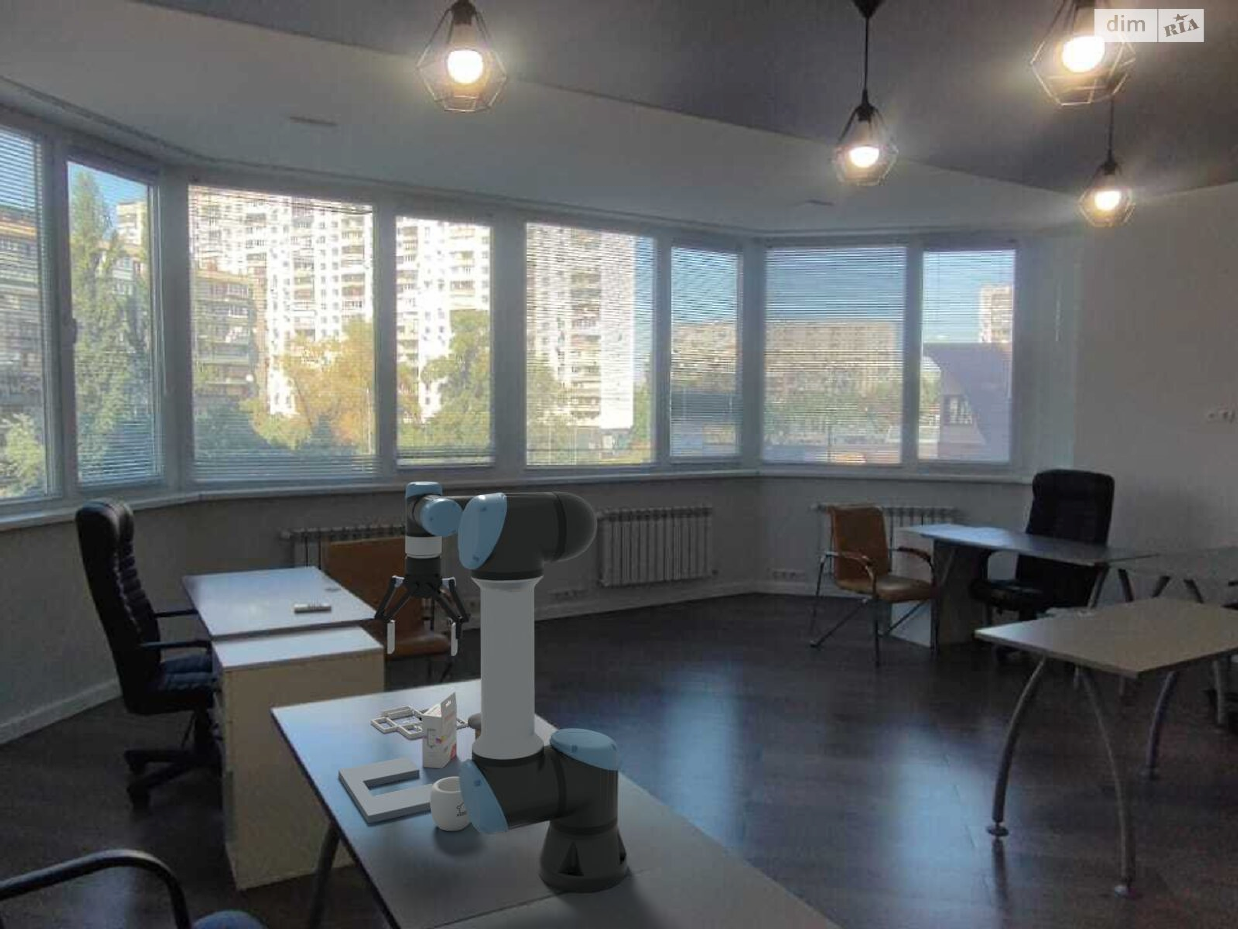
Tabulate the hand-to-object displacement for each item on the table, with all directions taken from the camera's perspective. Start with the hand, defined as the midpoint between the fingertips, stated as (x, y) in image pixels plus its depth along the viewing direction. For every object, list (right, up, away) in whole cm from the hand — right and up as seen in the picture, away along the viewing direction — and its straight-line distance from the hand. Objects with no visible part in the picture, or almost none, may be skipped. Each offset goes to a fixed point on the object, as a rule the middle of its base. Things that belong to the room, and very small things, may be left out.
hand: (422, 653), depth 184 cm
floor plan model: (-11, -25, +29) cm, 40 cm away
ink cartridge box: (+2, -26, +8) cm, 27 cm away
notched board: (-5, -27, -8) cm, 28 cm away
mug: (+12, -28, -21) cm, 37 cm away
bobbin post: (+15, -27, -5) cm, 31 cm away
